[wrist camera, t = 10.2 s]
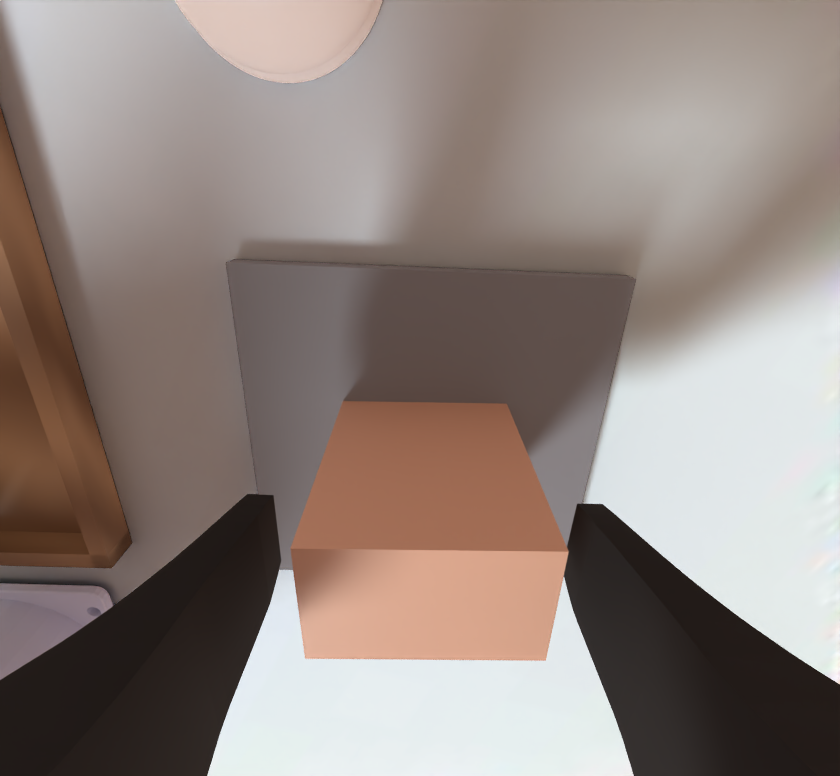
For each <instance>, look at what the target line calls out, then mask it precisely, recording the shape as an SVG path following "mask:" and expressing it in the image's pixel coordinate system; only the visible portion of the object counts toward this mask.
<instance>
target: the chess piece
mask: <svg viewBox="0 0 840 776" xmlns="http://www.w3.org/2000/svg"><path fill="white" fill-rule="evenodd" d="M382 1H383V0H175V2H176V3H177V5H178V7H179V8H180V10H181V11H182V13H183V14H184V15H185V17H186V18H187V19H188V21H189V22H190V23H191V25H192V26H193V27H194V28H195V29H196V30H197V32H198V33H199V34H200V35H201V37H202V38H203V39H204V40H205V41H206V42H207V43H208V44H209V46H210V47H211V48H212V49H213V50H215V51H216V52H217V53H218V54H219V55H220V56H221V57H223V58H224V59H225V60H226V61H228V62H229V63H231V64H232V65H234V66H235V67H237V68H238V69H240V70H242V71H244V72H246V73H248V74H250V75H252V76H255V77H257V78H260V79H264V80H267V81H272V82H278V83H300V82H306V81H310V80H314V79H317V78H319V77H322V76H324V75H326V74H328V73H330V72H332V71H333V70H335V69H337V68H338V67H339V66H341V65H342V64H343V63H345V62H346V61H347V60H348V59H349V58H350V57H351V56H352V55H353V54H354V53H355V52H356V51H357V49H358V48H359V47H360V46H361V44H362V43H363V42H364V40H365V39H366V37H367V35H368V34H369V32H370V30H371V28H372V26H373V24H374V22H375V20H376V18H377V15H378V13H379V10H380V7H381V4H382Z"/></svg>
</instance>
